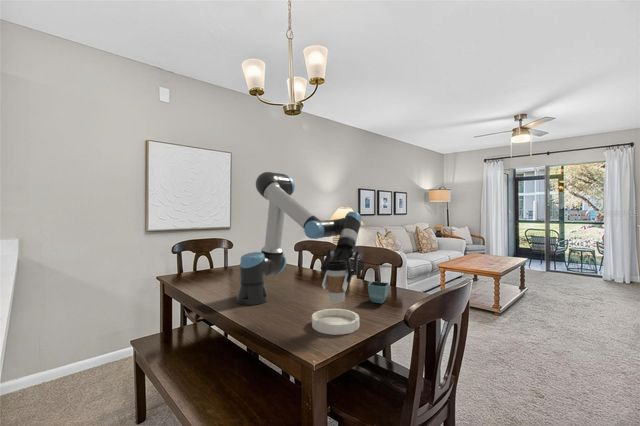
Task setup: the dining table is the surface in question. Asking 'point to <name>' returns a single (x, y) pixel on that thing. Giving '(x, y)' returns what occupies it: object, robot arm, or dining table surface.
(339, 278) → the coffee cup
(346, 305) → the dining table surface
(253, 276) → the robot arm
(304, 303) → the dining table surface
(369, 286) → the flower pot
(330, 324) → the serving bowl
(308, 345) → the dining table surface
